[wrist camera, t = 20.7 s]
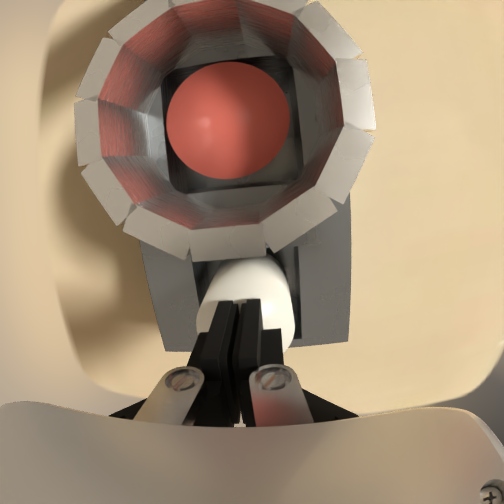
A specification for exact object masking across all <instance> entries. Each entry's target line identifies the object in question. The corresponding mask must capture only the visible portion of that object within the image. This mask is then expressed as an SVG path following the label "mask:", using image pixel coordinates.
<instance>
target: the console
mask: <svg viewBox="0 0 504 504" xmlns="http://www.w3.org/2000/svg"><path fill="white" fill-rule="evenodd" d="M308 4H309V0H147V1H146V2H144V3H143V4H141V5H140V6H139V7H137V8H136V9H135V10H134V11H132V12H131V13H130V14H128V15H127V16H126V17H125V18H123V19H122V20H121V21H120V22H118V23H117V24H116V25H115V26H114V27H113V28H111V29H110V30H109V31H108V33H109V34H110V35H111V36H112V38H113V39H110V38H104V37H103V38H102V40H101V42H100V44H99V46H98V48H97V50H96V52H95V54H94V56H93V58H92V60H91V62H90V64H89V66H88V68H87V71H86V73H85V75H84V77H83V80H82V82H81V84H80V87H79V89H78V91H77V94H76V97H80V98H84V100H81V101H79V102H76V103H74V115H75V134H76V147H77V158H78V166H87V167H86V168H85V169H84V170H83V171H82V172H81V175H82V176H83V178H84V179H85V181H86V182H87V184H88V185H89V187H90V188H91V190H92V191H93V193H94V194H95V196H96V197H97V199H98V200H99V202H100V203H101V205H102V206H103V208H104V209H105V211H106V212H107V213H108V215H109V216H110V218H111V219H112V221H113V222H114V223H115V225H116V226H119V225H121V224H123V223H125V224H124V228H123V232H125V233H127V234H129V235H131V236H133V237H135V238H137V239H139V242H140V247H141V252H142V257H143V262H144V267H145V272H146V276H147V281H148V285H149V290H150V294H151V298H152V302H153V306H154V310H155V314H156V318H157V322H158V326H159V330H160V333H161V337H162V341H163V344H164V348H165V351H172V352H192V351H193V348H194V345H195V343H196V340H197V337H198V333H197V327H196V319H197V314H198V311H199V308H200V306H201V304H202V301H203V299H204V297H205V295H206V293H207V290H208V288H209V286H210V284H211V281H212V279H213V277H214V275H215V273H216V270H217V268H218V267H219V265H220V264H221V262H222V261H223V260H224V259H237V258H250V257H262V256H266V253H268V254H269V255H271V256H273V257H274V258H275V259H277V260H278V261H279V262H280V264H281V265H282V266H283V268H284V270H285V272H286V275H287V279H288V285H289V291H290V297H291V303H292V309H293V316H294V323H295V332H294V337H293V339H292V342H291V344H290V346H289V347H288V348H290V347H302V346H312V345H322V344H331V343H339V342H347V341H348V334H349V317H350V295H351V209H350V190H351V188H352V186H353V184H354V182H355V180H356V178H357V176H358V173H359V171H360V169H361V167H362V165H363V163H364V161H365V159H366V156H367V154H368V152H369V150H370V148H371V146H372V143H373V141H374V139H375V137H373V136H372V135H370V134H368V133H366V132H369V131H373V130H376V122H375V113H374V105H373V98H372V91H371V84H370V78H369V72H368V66H367V60H363V59H358V58H359V56H360V55H361V54H362V53H363V52H362V51H361V49H360V48H359V47H358V46H357V44H356V43H355V42H354V41H353V40H352V38H351V37H350V36H349V35H348V34H347V32H346V31H345V30H344V29H343V28H342V27H341V26H340V24H339V23H338V22H337V21H336V20H335V19H334V18H333V17H332V16H331V15H330V14H329V12H328V11H327V10H326V9H325V8H324V7H323V6H322V5H321V4H320V3H319V2H318V1H315V2H313V3H311V4H309V5H308ZM221 62H239V63H245V64H248V65H252V66H254V67H256V68H259V69H260V70H262V71H264V72H265V73H267V74H268V75H269V76H270V77H272V78H273V79H274V80H275V82H276V83H277V84H278V85H279V87H280V88H281V89H282V91H283V93H284V95H285V97H286V100H287V103H288V107H289V113H290V123H289V130H288V134H287V137H286V140H285V142H284V144H283V146H282V148H281V149H280V151H279V152H278V154H277V155H276V156H275V157H274V158H273V159H272V160H271V161H270V162H269V163H268V164H267V165H266V166H264V167H263V168H261V169H260V170H258V171H256V172H254V173H252V174H250V175H247V176H244V177H240V178H234V179H217V178H212V177H208V176H205V175H202V174H200V173H198V172H196V171H194V170H193V169H191V168H190V167H188V166H187V165H186V164H185V163H184V162H182V160H181V159H180V158H179V157H178V156H177V154H176V153H175V151H174V150H173V148H172V145H171V143H170V141H169V137H168V133H167V112H168V108H169V104H170V102H171V99H172V97H173V95H174V94H175V92H176V90H177V89H178V88H179V86H180V85H181V84H182V83H183V82H184V81H185V80H186V79H187V78H188V77H189V76H190V75H192V74H193V73H195V72H196V71H198V70H200V69H202V68H204V67H206V66H209V65H212V64H216V63H221Z"/></svg>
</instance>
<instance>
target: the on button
mask: <svg viewBox="0 0 504 504" xmlns="http://www.w3.org/2000/svg"><path fill="white" fill-rule="evenodd" d="M247 299H261V309H262V319H263V329H277V328H281V333H282V347H283V353H284V352H285V351H286V350H287V348H288V347H289V346H290V344H291V342H292V339H293V337H294V332H295V323H294V316H293V309H292V303H291V297H290V291H289V285H288V279H287V275H286V272H285V270H284V268H283V266H282V265H281V264H280V262H279V261H278V260H277V259H275V258H274V257H273V256H271V255H269V254H268V253H266V256H262V257H250V258H237V259H224V260H223V261H222V262H221V264H220V265H219V267H218V268H217V270H216V273H215V275H214V277H213V279H212V281H211V284H210V286H209V288H208V290H207V293H206V295H205V297H204V299H203V301H202V304H201V306H200V308H199V311H198V314H197V319H196V327H197V333H198V335H199V333H200V332H208V331H209V328H210V325H211V322H212V319H213V316H214V313H215V310H216V307H217V304H218V302H219V301H229V300H232V301H233V304H238V306H239V314H240V310H241V304H242V303H246V301H247Z"/></svg>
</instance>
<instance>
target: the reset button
mask: <svg viewBox="0 0 504 504" xmlns="http://www.w3.org/2000/svg"><path fill="white" fill-rule="evenodd" d="M289 123H290V113H289V107H288V103H287V100H286V97H285V95H284V93H283V91H282V89H281V88H280V87H279V85H278V84H277V83H276V82H275V80H274V79H273V78H272V77H270V76H269V75H268V74H267V73H265V72H264V71H262V70H260V69H259V68H256V67H254V66H252V65H248V64H245V63H239V62H221V63H216V64H212V65H209V66H206V67H204V68H202V69H200V70H198V71H196V72H195V73H193V74H192V75H190V76H189V77H188V78H187V79H186V80H185V81H184V82H183V83H182V84H181V85H180V86H179V88H178V89H177V90H176V92H175V94H174V95H173V97H172V99H171V102H170V104H169V108H168V112H167V133H168V137H169V141H170V143H171V145H172V148H173V150H174V151H175V153H176V154H177V156H178V157H179V158H180V159H181V160H182V162H184V163H185V164H186V165H187V166H188V167H190V168H191V169H193V170H194V171H196V172H198V173H200V174H202V175H205V176H208V177H212V178H217V179H234V178H240V177H244V176H247V175H250V174H252V173H254V172H256V171H258V170H260V169H261V168H263V167H264V166H266V165H267V164H268V163H269V162H270V161H271V160H272V159H273V158H274V157H275V156H276V155H277V154H278V152H279V151H280V149H281V148H282V146H283V144H284V142H285V140H286V137H287V134H288V130H289Z"/></svg>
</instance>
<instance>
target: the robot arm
mask: <svg viewBox="0 0 504 504" xmlns="http://www.w3.org/2000/svg"><path fill="white" fill-rule="evenodd" d="M240 413H241V414H242V419H243V423H244V424H246V427H234V424H239V422H240ZM0 504H504V447H503V446H502V444H501V442H500V441H499V440H498V438H497V437H496V435H495V434H494V433H493V432H492V431H491V429H490V428H489V427H488V426H487V425H486V424H485V423H484V422H483V421H482V420H481V419H480V418H479V417H477V416H476V415H474V414H473V413H471V412H469V411H466V410H463V409H457V408H450V407H424V408H412V409H405V410H398V411H392V412H387V413H381V414H375V415H369V416H362V417H359V416H358V415H356V414H354V413H352V412H350V411H348V410H345V409H343V408H341V407H339V406H337V405H335V404H333V403H331V402H328V401H326V400H324V399H322V398H320V397H318V396H316V395H314V394H312V393H310V392H308V391H306V390H304V389H302V388H301V385H300V383H299V380H298V377H297V375H296V373H295V371H294V370H293V369H291V368H290V367H288V366H285V365H284V361H283V347H282V333H281V328H277V329H263V319H262V309H261V299H247V301H246V303H242V304H241V310H240V314H239V306H238V304H233V301H232V300H229V301H219V302H218V304H217V307H216V310H215V313H214V316H213V319H212V322H211V325H210V328H209V331H208V332H200V333H199V335H198V337H197V340H196V343H195V345H194V348H193V351H192V353H191V356H190V359H189V361H188V364H187V366H183V367H177V368H174V369H172V370H170V371H168V372H167V373H165V375H164V376H163V377H162V378H161V380H160V381H159V382H158V384H157V385H156V387H155V388H154V390H153V391H152V393H151V394H150V395H149V397H148V398H146V399H144V400H142V401H140V402H138V403H135V404H133V405H131V406H129V407H127V408H124V409H122V410H120V411H118V412H115V413H113V414H111V415H109V416H104V415H98V414H93V413H88V412H84V411H79V410H74V409H70V408H65V407H61V406H56V405H51V404H46V403H40V402H30V401H23V402H13V403H8V404H5V405H3V406H1V407H0Z"/></svg>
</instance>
